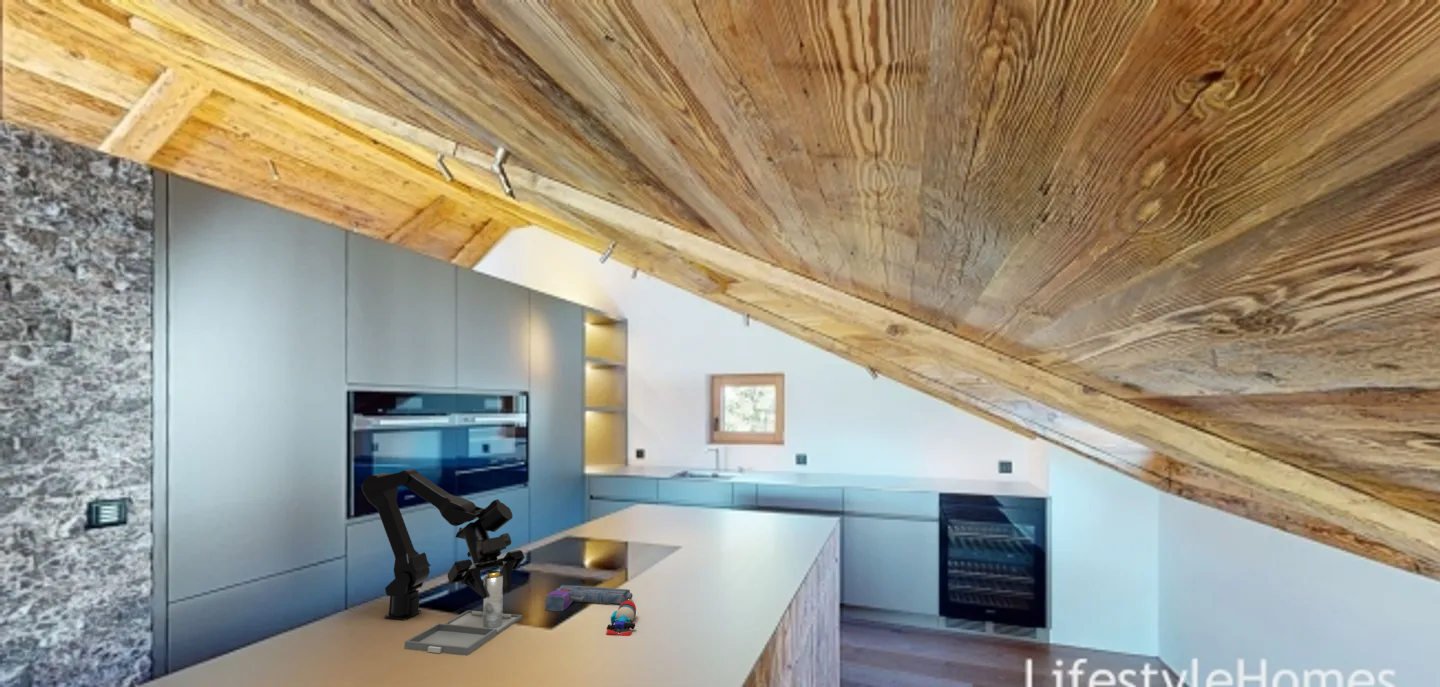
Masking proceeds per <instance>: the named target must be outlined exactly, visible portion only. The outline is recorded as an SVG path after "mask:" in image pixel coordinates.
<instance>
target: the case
mask: <svg viewBox="0 0 1440 687" xmlns="http://www.w3.org/2000/svg"><path fill="white" fill-rule="evenodd" d="M496 636H498V635H497V629H494V628H484V627H474V626H463V625H453V624H444V623H442V622H441V623H440V622H437V623H436V624H434V625H433V626H430V627H429V628H427V629H425V630H423V631H421V632H419V633H417V634H416V635H413V636H412V637H410V638H408V639H407V640H405V641H404V646H403V647H404V650H405V649H406V650H412V651H414V650H415V651H422V652H428V653H434V654H441V653H442V654H449V655H450V654H451V655H460V656H469V655H471V654H472V653H473V652H475V651H476V650H478V649H479V648H480V647H482V646H483V645H485V644H486V643H488V642H489V641H491V640H492V639H493V638H495V637H496Z"/></svg>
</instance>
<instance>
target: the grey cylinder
mask: <svg viewBox="0 0 1440 687" xmlns="http://www.w3.org/2000/svg"><path fill="white" fill-rule="evenodd" d="M486 574H487V575H485V576H484V577H483V584H484V587H485V590H486V593H487V597H486V598H485V599H484V598H483V597H482V598H483V602H482V604H483V605H482V608H483V610H482V612H483V627H484V628H497V627H500V626H501V625H502V616H503V614H504V612H503V609H504V608H503V607H504V606H503V605H504V602H503V600H504V599H503V598H504V596H503V594H504V586H503V575H502V574H500V570H491V571H488V572H487V573H486Z"/></svg>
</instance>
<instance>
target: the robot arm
mask: <svg viewBox="0 0 1440 687" xmlns="http://www.w3.org/2000/svg"><path fill="white" fill-rule="evenodd" d="M401 486H403V487H405V488H407V489H409V490H410V491H411V492H413V493H415V494H416V495H417V496H418V497H420V498H422V499H424V500H425V501H426V502H427V503H429V504H431V505H432V506H433V507H435V508H436V509H437V510H438V511H439V513H440V515H441V517H442V518H443V519H444V520H445V521H446V522H447V523H448V524H450V525H451V526H452V527H453V526H454V527H458V526H461V525H464V524H467V525H465V526H463V527H459V528H458V531H457V532H456V534H455V538H457V539H462V540H465V543H466V546H467V549H468V552H467V553H466V554H467V557H468V558H471V559H464V560H457V561H455V562H454V563H453V565H452V566H451V568H450V569H449V571H448V573H447V580H448V582H449V583H450V584H455V583H460V584H461V585H463V584H464V585H466V586H467V587H469V588H470V589H472V590H473V591H474V592H475V593H477V594H478V595H480V597H481V598H484V599H485V598H486V597H487V593H486V590H485V587H484V581H483V579H482V576H481V571H484V570H490V569H495V568H499V569H498V570H499V571H500V574H502V575H503V589H504V590H505V591H506V592H507V594H509V593H510V592H512V571H515V570H517V569H518V568H519V566H520V565H521V563H522V562H523V561H524V559H525V558H526V557H525V554H524V552H523V550H521V549H516V550H511V551H507V552H506V554H505V556H504V557H501V558H498V557H499V556H501V554H502V552H501V551H503V550H506V549H507V547H508V546H510V545H511V544H512V537H511V536H510V534H509V533H508V532H505V533H502V534H500V535H499V536H497V537H495V536H494V537H490V535H489V533H488V532H492V533H496V532H497V531H498V530H499V529H501V528H502V527H503V526H504V525H506V524H507V523H508V522H510V521H511V520H513V512H512V510H511V509H510V507H509V506H507V505H506V504H505V503H503V502H501V500H499V499H498V498H497V499H495V500H492V501H491V502H490V503H489V505H488V506H486V507H485V508H483V507H480V506H477V505H476V504H475V503H474V502H473V501H471V500H469V499H466V498H463V497H461V496H457V495H453V494H450V493H449V492H448V491H446V490H445V489H443V488H442V487H440V486H438V484H435V483H434V482H433V481H431V480H429V479H428V478H427V477H425V476H424V475H422V474H421V473H419V471H417V470H416V469H414V468H411V469H410V468H409V469H404V470H401V471H399V472H395V473H389V472H383V473H382V472H381V473H377V474H372V475H371V474H370V475H369V476H367V477H366V478H364V480H363V482H362V484H361V491H362V493H363V495H364V496H365V498H366V500H367V502H368V503H370V504H371V505H372V506H373V507H375V508H376V510H377V512H378V515H379V518H380V521H381V523H382V526H383V528H384V531H385V534H386V536H387V540H388V542H389V545H390V548H391V550H392V553H393V556H394V566H393V574H394V579H393V580H392V581H391V582H390V583H389V584H387V585H386V586H385V588H384V590H385V595H386V596H387V597H389V603H388V604H389V608H388V613H387V614H385V615H384V617H386V618H385V619H391V618H395V619H394V620H401V619H406V620H408V619H410V618H412V617H414V616H416V615H418V614H420V613H421V612H422V610H421V609H419V607H420V596H419V590H418V589H419V588H420V589H421V588H422V587H423V584H424V582H425V581H427V579H428V578H429V575H430V572H431V571H430V567H431V564H430V563H429V561H428V558H427V554H426V553H425V552H422V553H419V552H418V551H417V550H416V549H415V547H414V545H413V542H412V538H411V537H410V534H409V531H408V529H407V526H406V523H405V521H404V517H403V515H402V513H401V510H400V507H399V504H398V494H399V487H401ZM419 612H420V613H419ZM417 613H418V614H417ZM415 614H416V615H415ZM413 615H414V616H413ZM411 616H412V617H411ZM409 617H410V618H409ZM407 618H408V619H407Z"/></svg>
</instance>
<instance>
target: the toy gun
mask: <svg viewBox="0 0 1440 687" xmlns="http://www.w3.org/2000/svg"><path fill="white" fill-rule="evenodd" d="M545 597H546V598H545V605H544V606H545V610H547V611H551V612H563V611H565V610H566V609H567V608H569V607H570V605H571V604H572V603H573V602H574V603H575V602H576V603H586V602H587V603H590V604H593V603H596V604H605V605H608V604H620V605H621V604H622V603H623V602H625V601H627V600H628V599H629V600H632V599H633V593H632V592H631V589H627V588H614V587H601V586H600V587H598V586H584V585H567V584H562V585H560V586H559V588H557V587H556V588H555V590H552V591H550V593H548V594H547V595H546V596H545Z"/></svg>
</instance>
